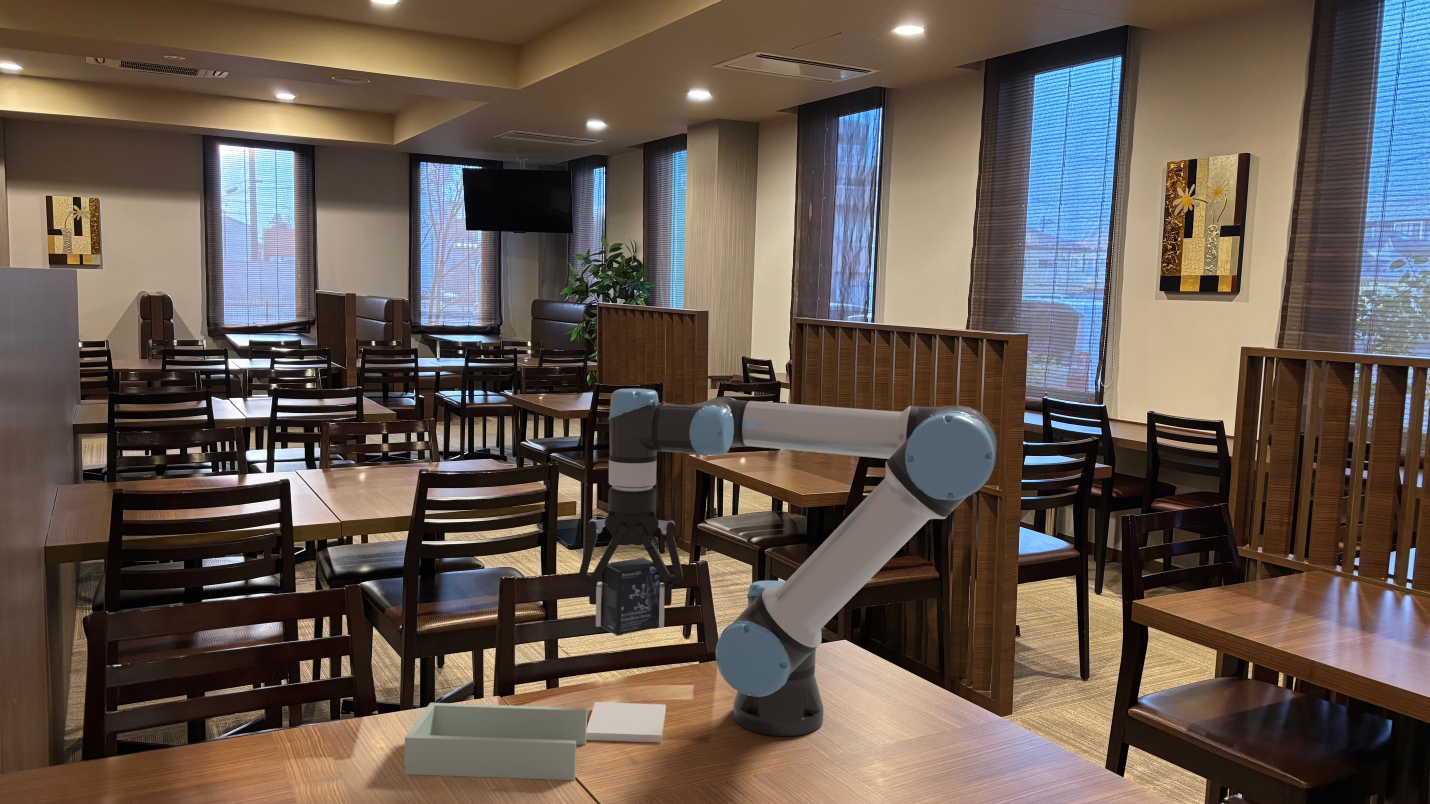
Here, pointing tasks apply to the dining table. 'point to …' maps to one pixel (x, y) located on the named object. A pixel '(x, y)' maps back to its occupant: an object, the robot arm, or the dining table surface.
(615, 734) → the plate
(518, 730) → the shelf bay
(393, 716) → the dining table surface
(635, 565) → the box
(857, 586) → the robot arm
